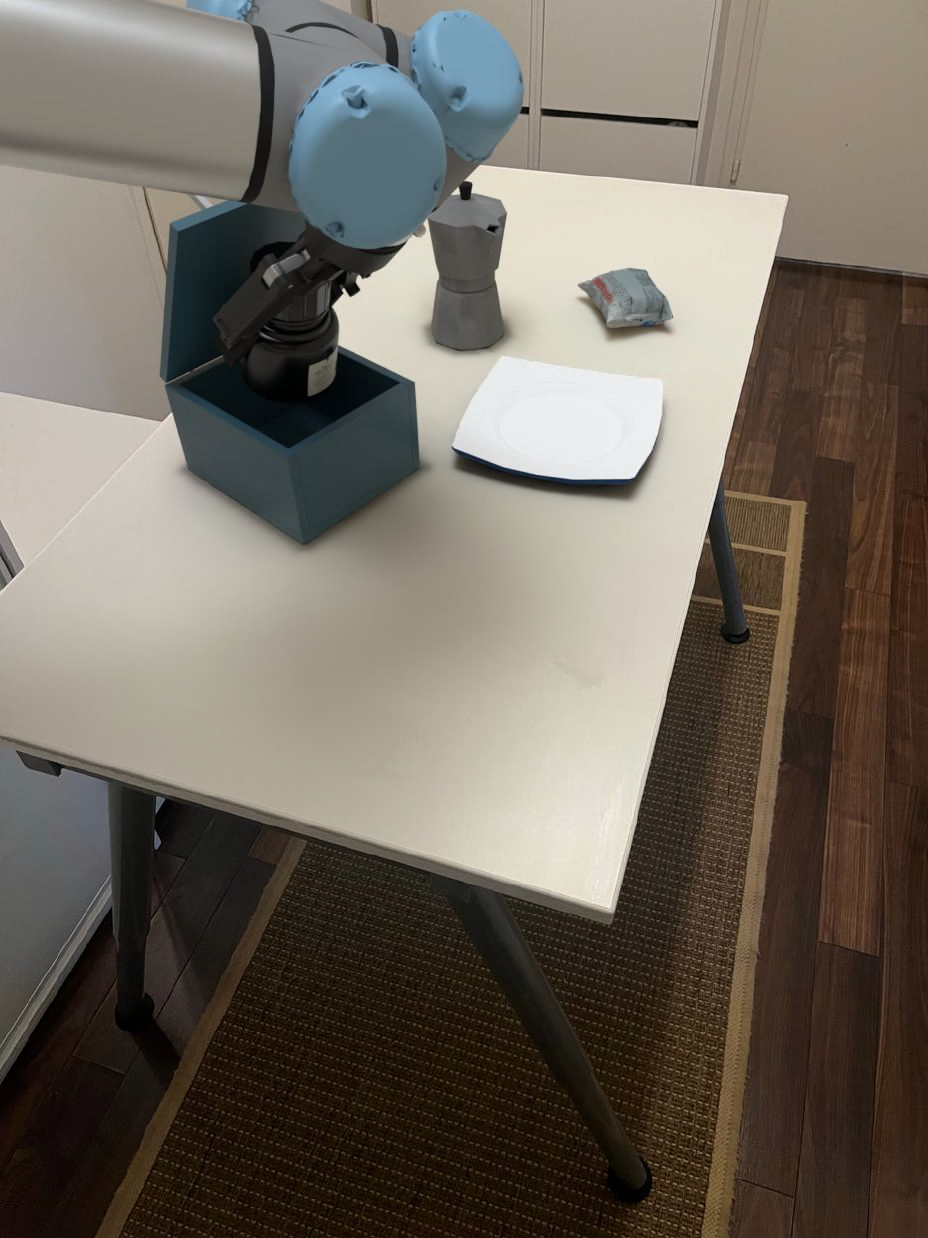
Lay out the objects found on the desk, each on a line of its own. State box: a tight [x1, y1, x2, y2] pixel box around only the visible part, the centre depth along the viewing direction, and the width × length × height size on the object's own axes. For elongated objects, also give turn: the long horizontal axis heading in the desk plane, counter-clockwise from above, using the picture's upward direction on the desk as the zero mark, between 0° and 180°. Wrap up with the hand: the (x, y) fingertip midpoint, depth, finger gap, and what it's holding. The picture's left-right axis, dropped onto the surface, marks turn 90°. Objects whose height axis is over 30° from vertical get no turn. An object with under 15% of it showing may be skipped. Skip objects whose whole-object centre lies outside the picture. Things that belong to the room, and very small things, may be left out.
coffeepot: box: [426, 180, 508, 351], centre depth 109 cm, size 15×9×18 cm, turn 32°
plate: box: [451, 355, 665, 485], centre depth 98 cm, size 20×20×3 cm
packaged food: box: [577, 267, 674, 329], centre depth 115 cm, size 9×12×5 cm
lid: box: [159, 194, 306, 384], centre depth 85 cm, size 19×16×9 cm
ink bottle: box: [240, 241, 340, 404], centre depth 83 cm, size 10×9×12 cm
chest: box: [164, 344, 421, 545], centre depth 92 cm, size 18×16×10 cm
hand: (266, 332), depth 86 cm, fingers closed on ink bottle, 9 cm apart
